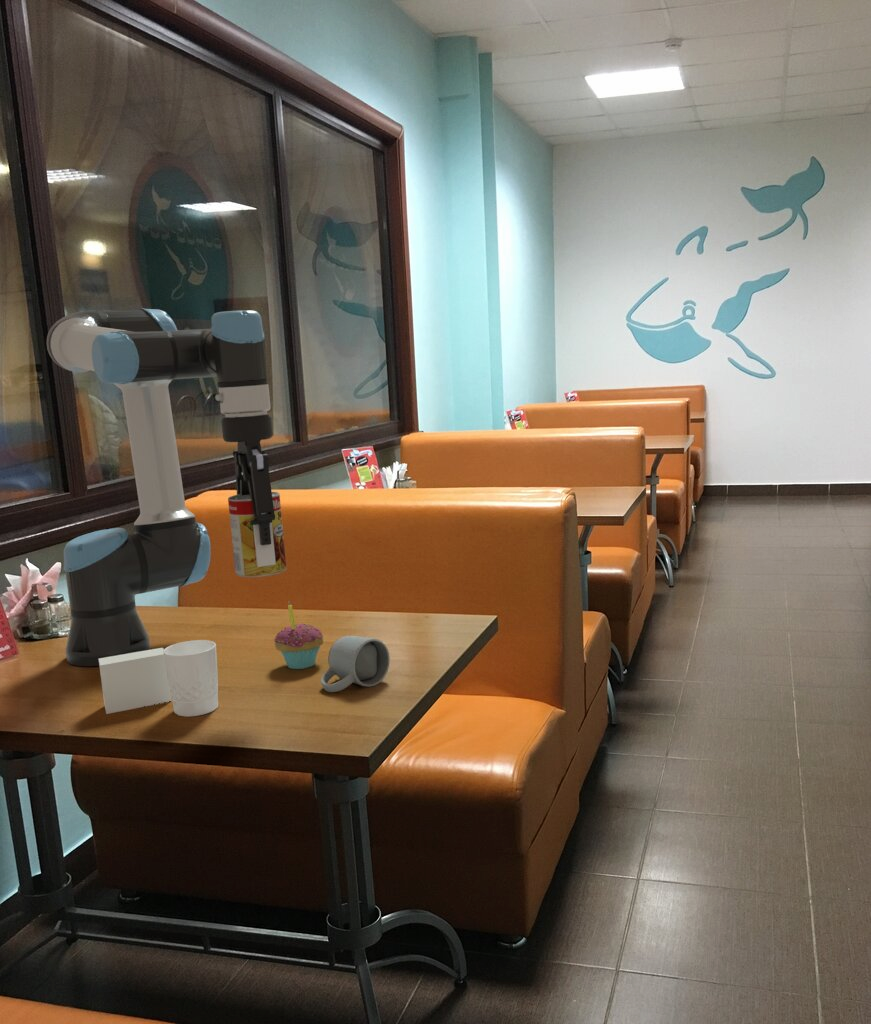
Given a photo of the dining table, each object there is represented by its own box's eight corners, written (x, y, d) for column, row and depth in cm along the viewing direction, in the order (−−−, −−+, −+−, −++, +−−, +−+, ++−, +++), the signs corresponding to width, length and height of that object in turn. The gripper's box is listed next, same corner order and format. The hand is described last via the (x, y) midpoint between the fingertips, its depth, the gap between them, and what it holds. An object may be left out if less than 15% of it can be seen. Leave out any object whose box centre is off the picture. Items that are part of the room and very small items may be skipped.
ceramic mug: (361, 669, 161) (356, 626, 160) (392, 679, 156) (388, 634, 154) (310, 688, 154) (305, 643, 153) (342, 699, 148) (337, 652, 147)
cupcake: (310, 674, 161) (304, 605, 159) (267, 671, 164) (260, 604, 162) (333, 658, 169) (327, 592, 167) (291, 655, 172) (285, 591, 170)
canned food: (294, 570, 147) (287, 494, 145) (247, 579, 143) (239, 501, 141) (274, 563, 154) (267, 490, 152) (228, 571, 149) (220, 496, 148)
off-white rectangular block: (104, 706, 152) (98, 658, 151) (168, 694, 156) (162, 647, 155) (106, 714, 148) (100, 665, 147) (171, 701, 152) (166, 653, 151)
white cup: (201, 696, 153) (195, 637, 152) (232, 705, 148) (226, 644, 147) (160, 712, 147) (152, 650, 146) (191, 722, 142) (183, 658, 141)
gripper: (209, 414, 152) (223, 553, 156) (234, 418, 133) (250, 576, 137) (255, 410, 155) (268, 546, 159) (286, 414, 136) (300, 568, 140)
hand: (260, 560), depth 148 cm, fingers closed on canned food, 8 cm apart
